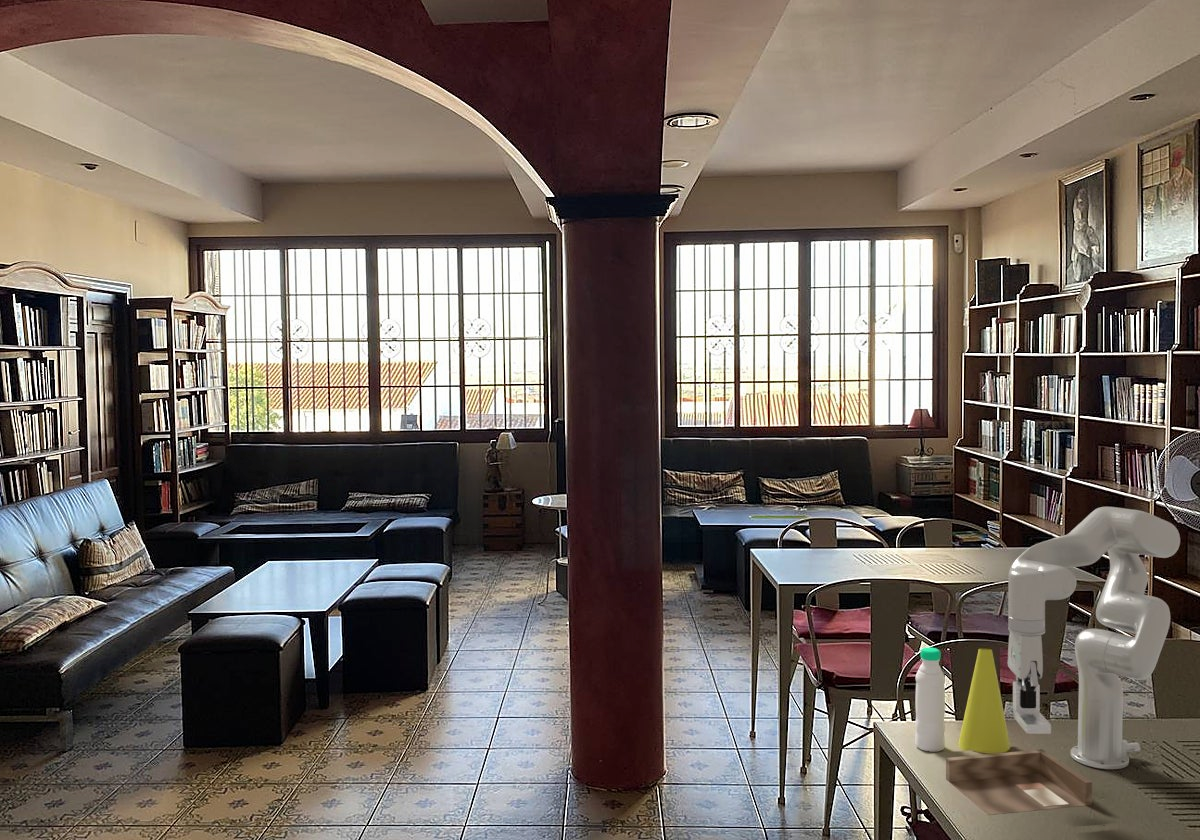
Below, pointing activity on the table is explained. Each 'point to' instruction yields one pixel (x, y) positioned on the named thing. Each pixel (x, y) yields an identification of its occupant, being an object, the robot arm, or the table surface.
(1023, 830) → the table surface
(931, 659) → the water bottle
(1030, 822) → the table surface
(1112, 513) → the robot arm
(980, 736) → the cone
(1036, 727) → the bracket
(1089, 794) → the tray
